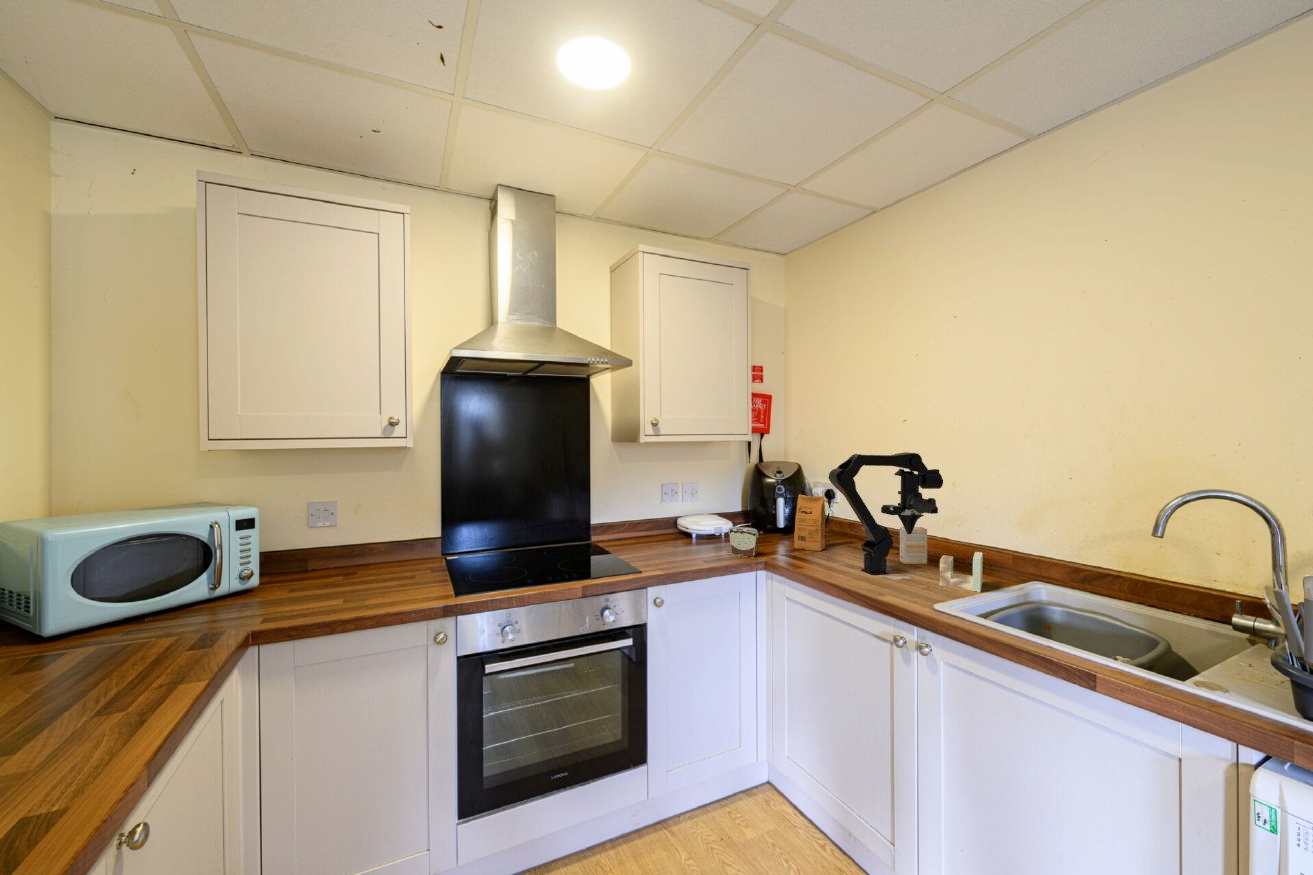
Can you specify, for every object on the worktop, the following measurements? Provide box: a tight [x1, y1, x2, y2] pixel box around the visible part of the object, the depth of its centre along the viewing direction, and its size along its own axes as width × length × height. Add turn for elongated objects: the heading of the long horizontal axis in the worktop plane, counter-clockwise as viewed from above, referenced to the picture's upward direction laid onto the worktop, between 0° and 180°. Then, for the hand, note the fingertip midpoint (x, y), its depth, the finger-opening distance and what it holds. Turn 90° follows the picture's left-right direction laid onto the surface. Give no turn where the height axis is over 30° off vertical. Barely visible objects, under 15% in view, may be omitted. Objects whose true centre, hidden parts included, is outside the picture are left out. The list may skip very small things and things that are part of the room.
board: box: [971, 551, 984, 593], centre depth 164 cm, size 2×11×10 cm, turn 146°
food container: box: [727, 526, 759, 556], centre depth 206 cm, size 12×6×10 cm, turn 58°
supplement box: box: [899, 526, 928, 566], centre depth 194 cm, size 8×5×13 cm, turn 84°
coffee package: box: [793, 494, 826, 552], centre depth 217 cm, size 10×12×22 cm
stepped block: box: [939, 554, 973, 591], centre depth 167 cm, size 9×8×8 cm
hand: (909, 534), depth 181 cm, fingers closed
